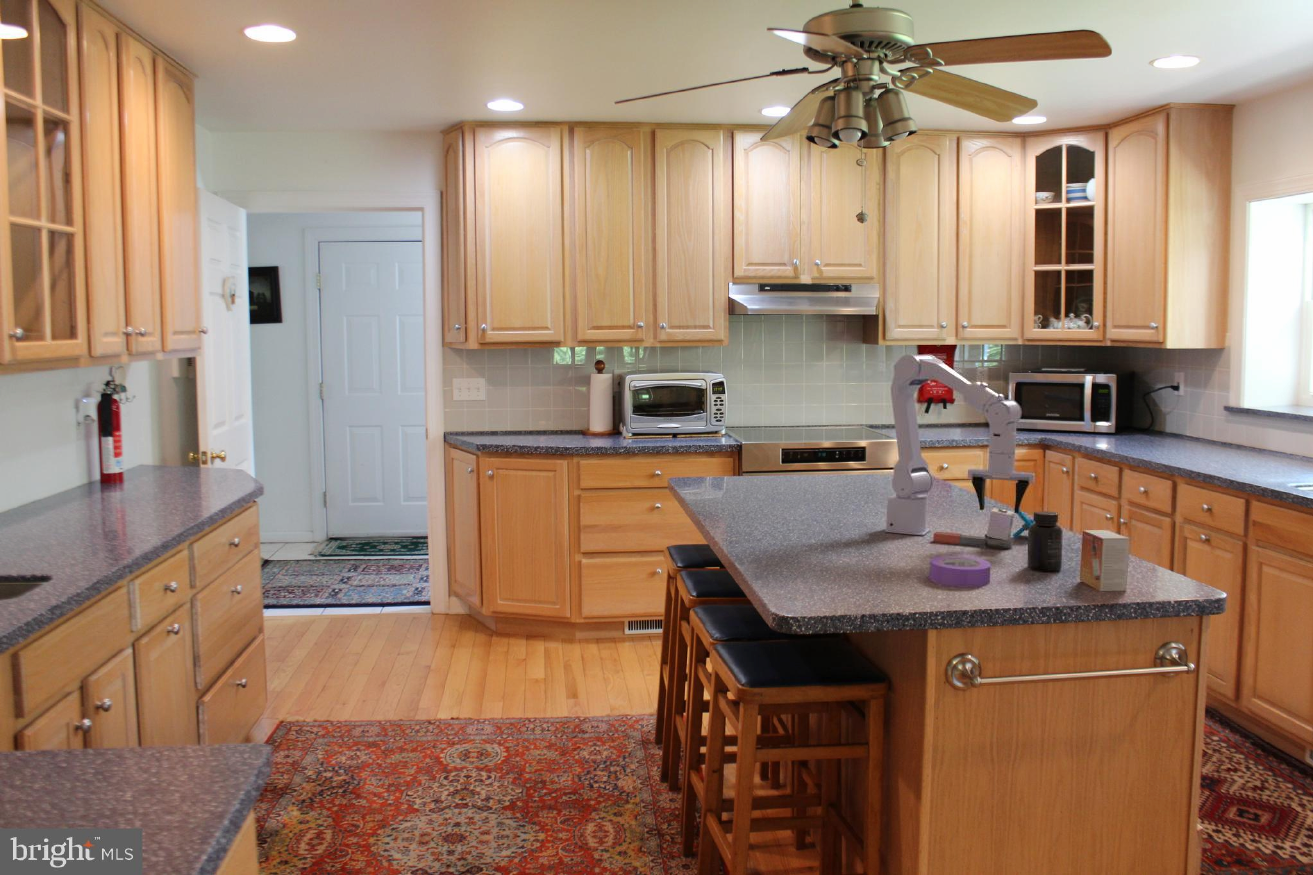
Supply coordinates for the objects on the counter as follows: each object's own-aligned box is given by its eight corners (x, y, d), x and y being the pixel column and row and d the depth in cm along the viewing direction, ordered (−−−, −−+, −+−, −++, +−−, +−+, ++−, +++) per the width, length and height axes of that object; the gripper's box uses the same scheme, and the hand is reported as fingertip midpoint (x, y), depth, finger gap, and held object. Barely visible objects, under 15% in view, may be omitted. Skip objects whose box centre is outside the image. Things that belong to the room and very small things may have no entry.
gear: (1047, 537, 237) (1017, 505, 240) (1027, 553, 239) (997, 521, 241) (1048, 535, 247) (1019, 504, 250) (1029, 551, 249) (1001, 520, 252)
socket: (986, 536, 233) (991, 509, 232) (989, 532, 237) (994, 506, 236) (1007, 540, 231) (1012, 513, 230) (1010, 536, 235) (1014, 510, 234)
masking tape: (1002, 585, 199) (1002, 566, 199) (950, 589, 196) (951, 570, 196) (968, 572, 210) (968, 554, 210) (918, 575, 207) (919, 557, 207)
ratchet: (932, 543, 238) (932, 521, 238) (937, 538, 243) (938, 517, 243) (1009, 550, 230) (1010, 528, 230) (1013, 545, 235) (1014, 523, 235)
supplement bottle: (1060, 566, 215) (1063, 511, 214) (1062, 573, 208) (1065, 516, 207) (1026, 564, 217) (1028, 509, 216) (1026, 571, 211) (1029, 514, 209)
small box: (1078, 581, 202) (1081, 529, 201) (1105, 580, 203) (1108, 529, 202) (1099, 591, 194) (1102, 538, 193) (1127, 591, 195) (1130, 537, 194)
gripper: (966, 452, 232) (963, 510, 233) (1033, 456, 225) (1030, 516, 226) (971, 449, 238) (969, 506, 239) (1037, 453, 231) (1034, 511, 233)
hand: (999, 510), depth 233 cm, fingers open, 7 cm apart
